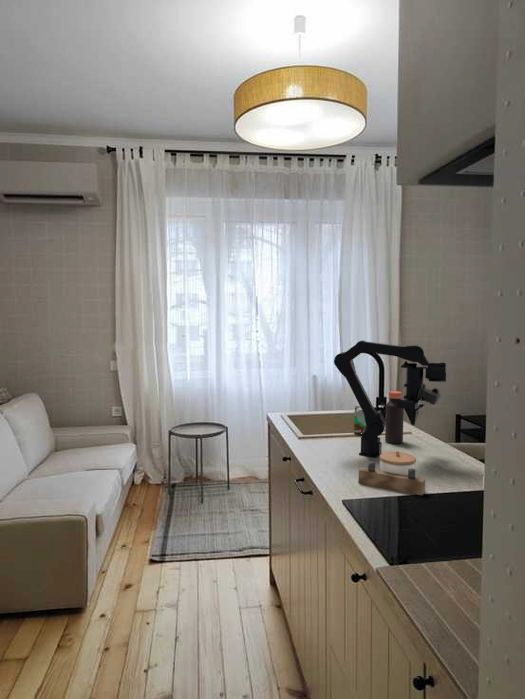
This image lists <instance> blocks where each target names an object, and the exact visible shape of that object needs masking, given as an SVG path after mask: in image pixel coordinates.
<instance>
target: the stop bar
mask: <svg viewBox="0 0 525 699" xmlns="http://www.w3.org/2000/svg"><path fill="white" fill-rule="evenodd" d="M367 462H368V466H367V467H363V466H362V467H360V468H359V469H358V481H357V482H358V484H363V485H368V486H373V487H378V488H382V489H387V490H393V491H398V492H403V493H409V494H412V495H418V496H424V494H425V492H426V478H425V477H424V478H423V477H418V476H416V468H415V469H412V468H409V469H408V476H407V475H402V474H395V473H389V472H385V471H381V469H380V470H379V469H376V462H375V461H367Z"/></svg>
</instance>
